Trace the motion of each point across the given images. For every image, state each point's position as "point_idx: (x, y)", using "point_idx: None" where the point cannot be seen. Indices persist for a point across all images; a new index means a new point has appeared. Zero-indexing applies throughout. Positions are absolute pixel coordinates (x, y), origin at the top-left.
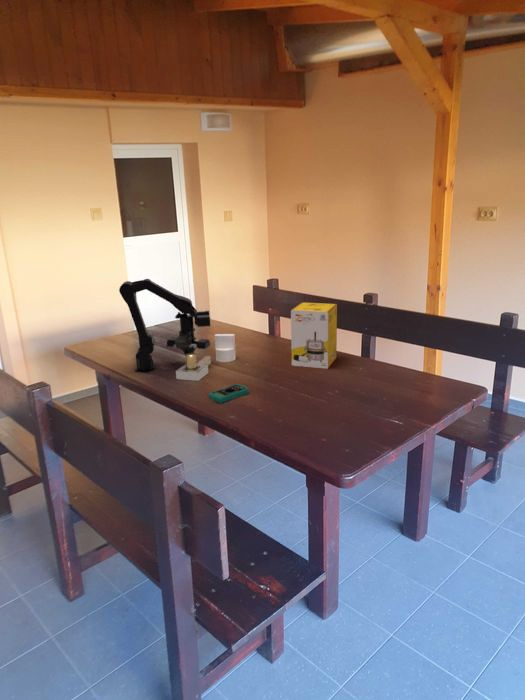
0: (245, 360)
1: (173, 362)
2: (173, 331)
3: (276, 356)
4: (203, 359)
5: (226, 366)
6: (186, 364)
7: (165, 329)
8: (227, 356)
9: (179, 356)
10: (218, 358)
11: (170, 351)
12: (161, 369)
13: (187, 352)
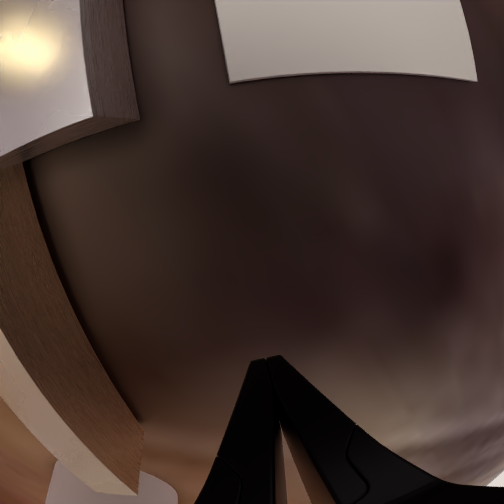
0: (37, 483)
1: (465, 330)
2: (481, 479)
3: (14, 501)
4: (45, 424)
5: (3, 412)
6: (54, 65)
7: (498, 469)
8: (50, 496)
9: (447, 417)
10: None
11: (491, 419)
12: (495, 120)
13: (323, 495)
